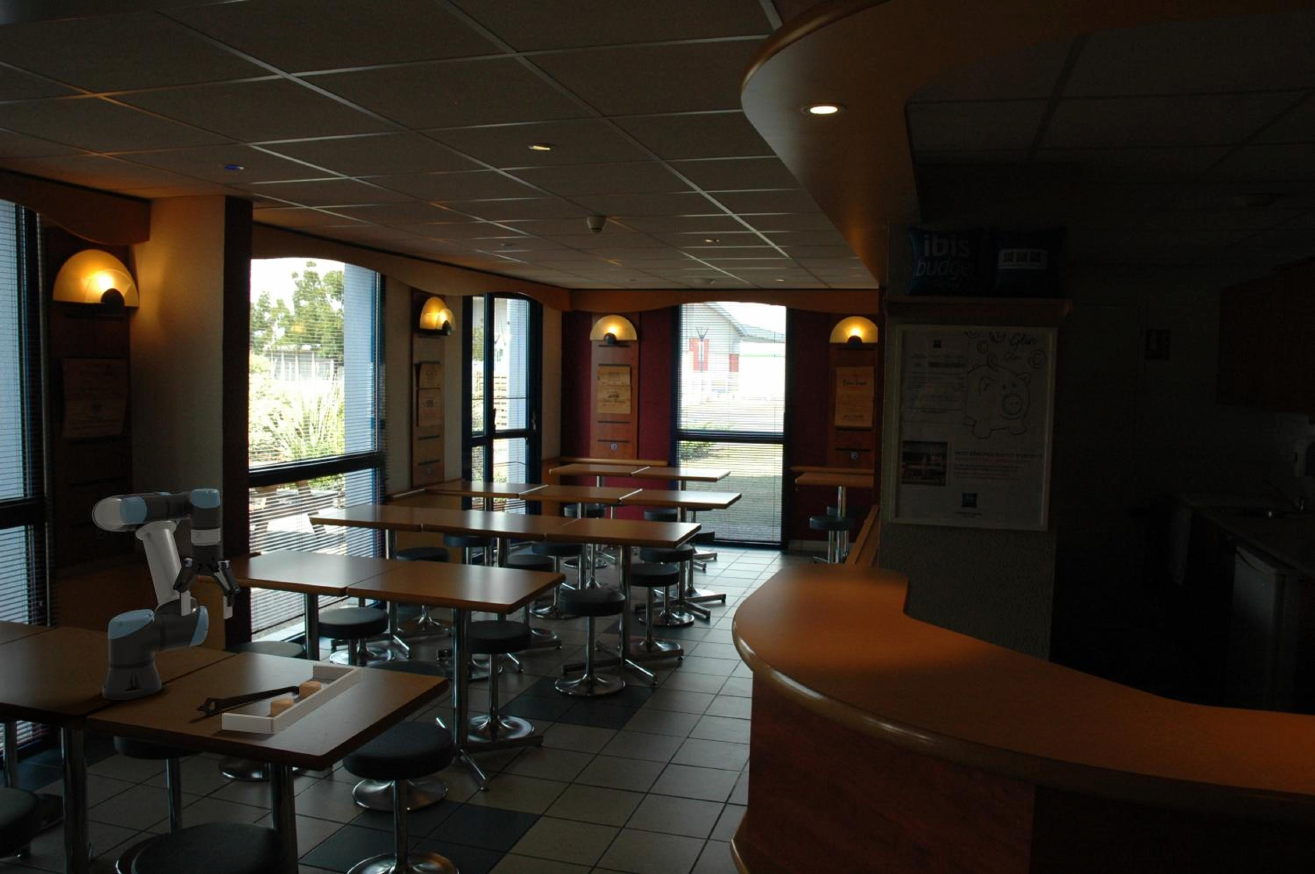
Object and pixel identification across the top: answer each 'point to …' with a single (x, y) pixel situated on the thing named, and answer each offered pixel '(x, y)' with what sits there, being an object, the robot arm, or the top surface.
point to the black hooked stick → (241, 699)
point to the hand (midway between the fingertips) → (206, 616)
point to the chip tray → (274, 725)
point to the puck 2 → (308, 689)
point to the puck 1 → (280, 706)
